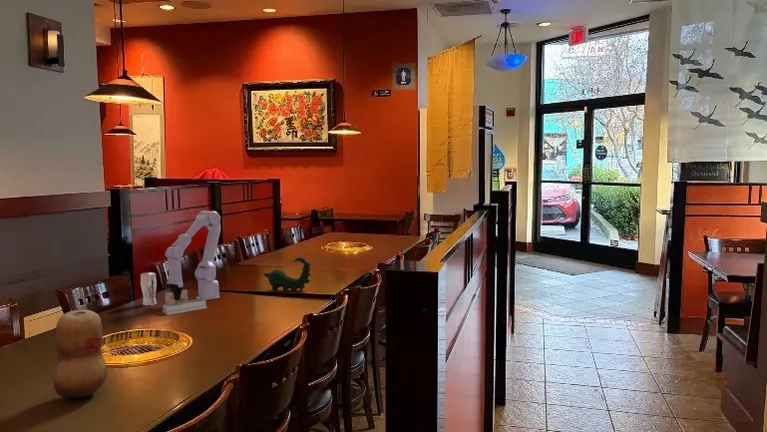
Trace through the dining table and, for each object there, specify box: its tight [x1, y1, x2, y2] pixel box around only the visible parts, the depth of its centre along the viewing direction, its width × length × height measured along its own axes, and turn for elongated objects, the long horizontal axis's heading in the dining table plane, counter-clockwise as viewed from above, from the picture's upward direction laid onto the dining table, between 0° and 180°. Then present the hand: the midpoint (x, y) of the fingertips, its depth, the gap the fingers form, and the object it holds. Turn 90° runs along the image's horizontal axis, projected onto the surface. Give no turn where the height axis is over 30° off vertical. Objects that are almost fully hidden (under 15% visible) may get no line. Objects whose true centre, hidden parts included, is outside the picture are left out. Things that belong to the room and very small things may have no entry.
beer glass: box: [140, 271, 157, 307], centre depth 263 cm, size 7×7×15 cm
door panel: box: [164, 289, 189, 305], centre depth 260 cm, size 10×2×6 cm, turn 129°
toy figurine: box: [262, 256, 312, 292], centre depth 288 cm, size 9×19×25 cm
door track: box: [161, 298, 208, 316], centre depth 252 cm, size 18×7×4 cm, turn 129°
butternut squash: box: [52, 309, 108, 399], centre depth 157 cm, size 14×13×25 cm
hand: (176, 299), depth 260 cm, fingers closed on door panel, 2 cm apart
